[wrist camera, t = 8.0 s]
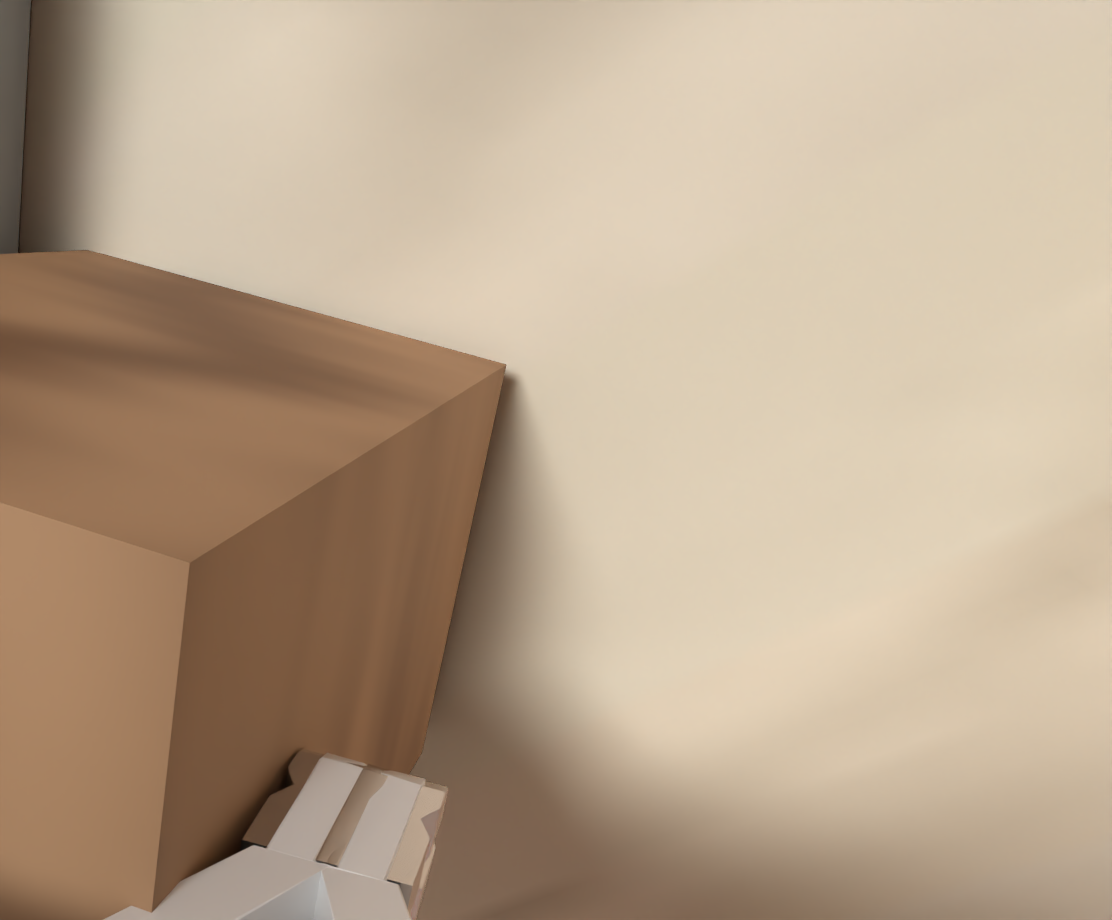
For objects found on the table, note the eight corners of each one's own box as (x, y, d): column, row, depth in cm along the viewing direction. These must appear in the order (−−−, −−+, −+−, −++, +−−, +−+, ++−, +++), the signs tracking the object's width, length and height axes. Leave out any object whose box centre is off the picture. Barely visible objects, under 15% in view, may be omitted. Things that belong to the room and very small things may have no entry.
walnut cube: (506, 364, 15) (189, 563, 6) (422, 752, 17) (111, 1278, 9) (88, 250, 16) (-684, 284, 7) (64, 631, 18) (-533, 997, 10)
